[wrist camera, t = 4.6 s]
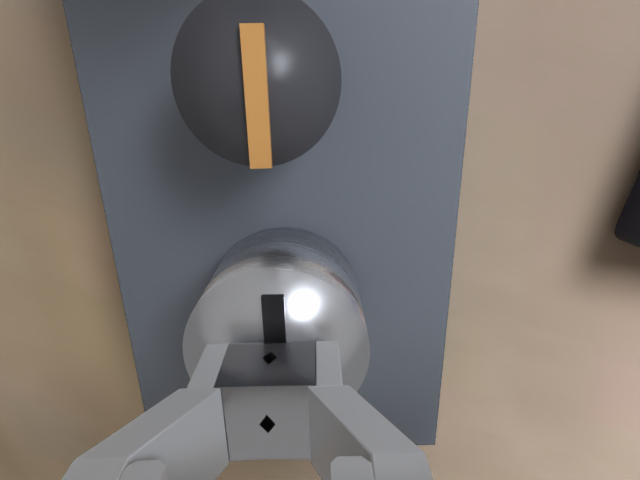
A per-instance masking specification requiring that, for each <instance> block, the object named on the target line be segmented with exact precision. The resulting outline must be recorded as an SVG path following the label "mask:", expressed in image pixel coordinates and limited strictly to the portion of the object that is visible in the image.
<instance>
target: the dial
mask: <svg viewBox="0 0 640 480" xmlns="http://www.w3.org/2000/svg"><path fill="white" fill-rule="evenodd" d="M170 75H171V85H172V91H173V96H174V99H175V102H176V105H177V108H178V110H179V112H180V114H181V116H182V118H183V120H184V122H185V123H186V125H187V127H188V128H189V129H190V131H191V132H192V133H193V134H194V136H195V137H196V138H197V139H198V140H199V141H200V142H201V143H202V144H203V145H204V146H206V147H207V148H208V149H209V150H211V151H212V152H214V153H215V154H217V155H218V156H220V157H222V158H224V159H226V160H228V161H231V162H234V163H237V164H240V165H245V166H250V169H262V168H272V167H273V166H276V165H280V164H284V163H287V162H289V161H292V160H294V159H296V158H298V157H300V156H302V155H303V154H304V153H306V152H307V151H309V150H310V149H311V148H312V147H313V146H314V145H315V144H317V143H318V141H319V140H320V139H321V138H322V137H323V135H324V134H325V133H326V131H327V130H328V128H329V126H330V125H331V123H332V121H333V118H334V116H335V114H336V111H337V108H338V104H339V100H340V94H341V83H342V77H341V66H340V60H339V55H338V52H337V49H336V46H335V43H334V41H333V39H332V37H331V34H330V32H329V31H328V29H327V28H326V26H325V24H324V23H323V21H322V20H321V19H320V18H319V16H318V15H317V14H316V13H315V12H314V11H313V10H312V9H311V8H310V7H309V6H308V5H307V4H306V3H304V2H303V1H302V0H203V1H202V2H201V3H199V4H198V5H197V6H196V7H195V8H194V9H193V10H192V12H191V13H190V14H189V15H188V17H187V18H186V20H185V21H184V23H183V24H182V26H181V28H180V30H179V32H178V34H177V37H176V40H175V43H174V46H173V51H172V56H171V67H170Z"/></svg>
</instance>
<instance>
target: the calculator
mask: <svg viewBox="0 0 640 480" xmlns="http://www.w3.org/2000/svg"><path fill="white" fill-rule="evenodd" d="M615 235H616V237H617V238H618V239H620V240H622V241H625V242H627V243H630V244H632V245H635V246H637V247H640V172H639V174H638V176H637V179H636V181H635V183H634V186H633V188H632V190H631V193H630V195H629V197H628V200H627V202H626V204H625V206H624V209H623V211H622V213H621V216H620V218H619V221H618V223H617V225H616V228H615Z"/></svg>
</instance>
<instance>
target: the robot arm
mask: <svg viewBox="0 0 640 480" xmlns="http://www.w3.org/2000/svg"><path fill="white" fill-rule="evenodd" d="M262 459H311V463H312V464H313V466H314V468H315V469H316V471H317V472H318V474H319V476H320V477H321V479H322V480H433V478H432V474H431V471H430V468H429V464H428V461H427V458H426V454H425V453H424V452H423V451H422V450H421V449H420V448H419V447H418V446H416V445H415V444H414V443H413V442H412V441H411V440H410V439H409V438H407V437H406V436H405V435H404V434H403V433H402V432H401V431H400V430H399V429H397V428H396V427H395V426H394V425H393V424H392V423H391V422H390V421H389V420H387V419H386V418H385V417H384V416H383V415H382V414H381V413H380V412H378V411H377V410H376V409H375V408H374V407H373V406H372V405H371V404H370V403H368V402H367V401H366V400H365V399H364V398H363V397H362V396H361V395H359V394H358V393H357V392H356V391H355V390H354V389H353V388H352V387H351V386H349V385H343V383H342V372H341V360H340V349H339V342H338V340H330V341H315V342H292V343H229V342H226V343H209V344H207V345H206V346H205V348H204V350H203V352H202V355H201V357H200V359H199V361H198V364H197V366H196V368H195V370H194V372H193V375H192V377H191V379H190V381H189V383H188V386H187V388H184V389H178V390H177V391H175V392H174V393H172V394H171V395H169V396H168V397H166V398H165V399H164V400H162V401H161V402H159V403H158V404H156V405H155V406H153V407H152V408H150V409H149V410H147V411H146V412H144V413H143V414H141V415H140V416H138V417H137V418H135V419H134V420H132V421H131V422H129V423H128V424H126V425H125V426H123V427H122V428H120V429H119V430H118V431H116V432H115V433H113V434H112V435H110V436H109V437H107V438H106V439H104V440H103V441H101V442H100V443H98V444H97V445H95V446H94V447H92V448H91V449H89V450H88V451H86V452H85V453H83V454H82V455H80V456H79V457H77V458H76V459H75V460H74V461H73V463H72V464H71V466H70V467H69V468H68V470H67V471H66V473H65V474H64V476H63V477H62V479H61V480H216V479H217V477H218V476H219V475H220V474H221V473H222V471H223V470H224V469H225V468H226V467H227V466H228V464H229V461H242V460H262Z"/></svg>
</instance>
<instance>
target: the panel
mask: <svg viewBox="0 0 640 480" xmlns="http://www.w3.org/2000/svg"><path fill="white" fill-rule="evenodd" d="M62 1H63V6H64V11H65V16H66V21H67V26H68V31H69V36H70V41H71V46H72V51H73V56H74V61H75V66H76V71H77V76H78V81H79V86H80V91H81V96H82V101H83V106H84V111H85V116H86V121H87V126H88V131H89V136H90V141H91V146H92V151H93V156H94V160H95V165H96V170H97V175H98V180H99V185H100V190H101V195H102V200H103V205H104V210H105V215H106V220H107V225H108V230H109V235H110V240H111V245H112V250H113V255H114V260H115V265H116V270H117V275H118V280H119V285H120V290H121V295H122V300H123V305H124V310H125V315H126V320H127V325H128V330H129V335H130V340H131V345H132V350H133V355H134V360H135V365H136V370H137V375H138V380H139V385H140V390H141V395H142V400H143V405H144V410H145V412H146V411H147V410H149V409H150V408H152V407H153V406H155V405H156V404H158V403H159V402H161V401H162V400H164V399H165V398H166V397H168V396H169V395H171V394H172V393H174V392H175V391H177V390H178V389H184V388H187V386H188V383H189V381H190V377H189V374H188V372H187V369H186V367H185V362H184V358H183V347H182V346H183V335H184V331H185V327H186V324H187V322H188V319H189V317H190V315H191V313H192V311H193V310H194V308H195V306H196V304H197V303H198V301H199V299H200V297H201V296H202V294H203V292H204V290H205V289H206V287H207V285H208V283H209V282H210V280H211V278H212V276H213V275H214V273H215V271H216V269H217V268H218V266H219V264H220V262H221V261H222V259H223V258H224V256H225V255H226V254H227V252H228V251H229V250H230V249H231V248H232V247H233V246H234V245H235V244H236V243H238V242H239V241H241V240H242V239H243V238H245V237H247V236H249V235H251V234H253V233H255V232H258V231H261V230H265V229H270V228H278V227H291V228H298V229H303V230H307V231H310V232H313V233H315V234H317V235H320V236H322V237H323V238H325V239H327V240H328V241H330V242H331V243H332V244H334V245H335V246H336V247H337V248H338V249H339V250H340V251H341V252H342V253H343V254H344V255H345V257H346V258H347V260H348V261H349V263H350V265H351V266H352V268H353V271H354V273H355V276H356V280H357V285H358V289H359V294H360V299H361V304H362V309H363V313H364V318H365V323H366V328H367V333H368V338H369V342H370V360H369V366H368V370H367V374H366V376H365V378H364V381H363V383H362V385H361V386H360V388H359V390H358V391H357V393H358V394H359V395H361V396H362V397H363V398H364V399H365V400H366V401H367V402H368V403H370V404H371V405H372V406H373V407H374V408H375V409H376V410H377V411H378V412H380V413H381V414H382V415H383V416H384V417H385V418H386V419H387V420H389V421H390V422H391V423H392V424H393V425H394V426H395V427H396V428H397V429H399V430H400V431H401V432H402V433H403V434H404V435H405V436H406V437H407V438H409V439H410V440H411V441H412V442H413V443H414V444H415V445H435V439H436V429H437V418H438V408H439V398H440V388H441V378H442V368H443V358H444V348H445V338H446V328H447V318H448V308H449V298H450V288H451V277H452V267H453V257H454V247H455V237H456V227H457V217H458V207H459V197H460V187H461V177H462V167H463V157H464V146H465V136H466V126H467V116H468V106H469V96H470V86H471V76H472V66H473V56H474V46H475V36H476V26H477V15H478V5H479V0H302V1H303V2H304V3H306V4H307V5H308V6H309V7H310V8H311V9H312V10H313V11H314V12H315V13H316V14H317V15H318V16H319V18H320V19H321V20H322V21H323V23H324V24H325V26H326V28H327V29H328V31H329V32H330V34H331V37H332V39H333V41H334V43H335V46H336V49H337V52H338V55H339V60H340V66H341V77H342V83H341V94H340V100H339V104H338V108H337V111H336V114H335V116H334V118H333V121H332V123H331V125H330V126H329V128H328V130H327V131H326V133H325V134H324V135H323V137H322V138H321V139H320V140H319V141H318V143H317V144H315V145H314V146H313V147H312V148H311V149H310V150H309V151H307V152H306V153H304V154H303V155H302V156H300V157H298V158H296V159H294V160H292V161H289V162H287V163H284V164H280V165H276V166H273V167H272V168H262V169H250V166H245V165H240V164H237V163H234V162H231V161H228V160H226V159H224V158H222V157H220V156H218V155H217V154H215V153H214V152H212V151H211V150H209V149H208V148H207V147H206V146H204V145H203V144H202V143H201V142H200V141H199V140H198V139H197V138H196V137H195V136H194V134H193V133H192V132H191V131H190V129H189V128H188V127H187V125H186V123H185V122H184V120H183V118H182V116H181V114H180V112H179V110H178V108H177V105H176V102H175V99H174V96H173V91H172V85H171V75H170V67H171V56H172V51H173V46H174V43H175V40H176V37H177V34H178V32H179V30H180V28H181V26H182V24H183V23H184V21H185V20H186V18H187V17H188V15H189V14H190V13H191V12H192V10H193V9H194V8H195V7H196V6H197V5H198V4H199V3H201V2H202V1H203V0H62Z"/></svg>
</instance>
